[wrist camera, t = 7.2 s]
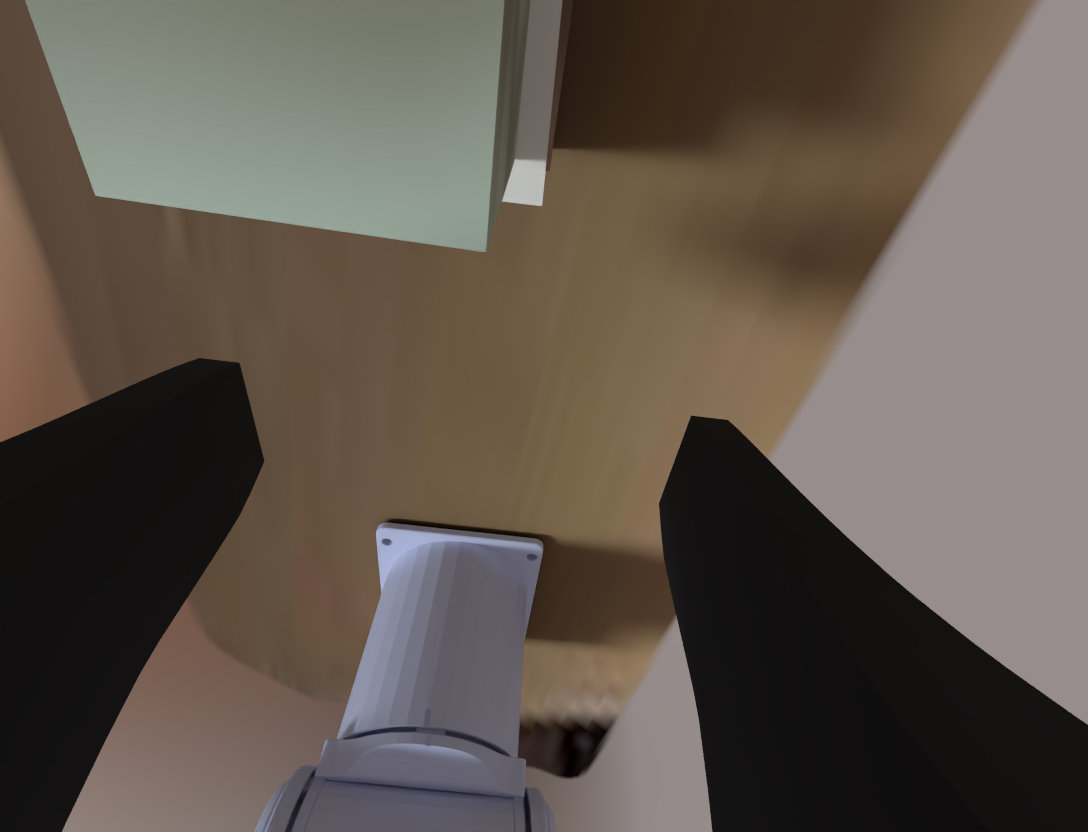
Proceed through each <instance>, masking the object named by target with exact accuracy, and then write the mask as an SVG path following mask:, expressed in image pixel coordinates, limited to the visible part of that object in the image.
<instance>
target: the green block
mask: <svg viewBox="0 0 1088 832" xmlns="http://www.w3.org/2000/svg"><path fill="white" fill-rule="evenodd" d="M25 1H26V4H27V7H28V10H29V12H30V15H31V18H32V21H33V23H34V26H35V29H36V32H37V35H38V37H39V40H40V43H41V46H42V48H43V51H44V54H45V57H46V60H47V62H48V65H49V68H50V71H51V73H52V76H53V79H54V82H55V85H56V87H57V90H58V93H59V96H60V98H61V101H62V104H63V107H64V110H65V112H66V115H67V118H68V121H69V123H70V126H71V129H72V132H73V135H74V137H75V140H76V143H77V146H78V148H79V151H80V154H81V157H82V160H83V162H84V165H85V168H86V171H87V173H88V176H89V179H90V182H91V185H92V187H93V190H94V193H95V196H101V197H108V198H115V199H122V200H129V201H136V202H143V203H150V204H156V205H163V206H170V207H177V208H184V209H191V210H198V211H205V212H212V213H218V214H225V215H232V216H239V217H246V218H253V219H260V220H267V221H273V222H280V223H287V224H294V225H301V226H308V227H315V228H322V229H328V230H335V231H342V232H349V233H356V234H363V235H370V236H377V237H384V238H390V239H397V240H404V241H411V242H418V243H425V244H432V245H439V246H445V247H452V248H459V249H466V250H473V251H480V252H486V250H487V247H488V244H489V241H490V238H491V234H492V231H493V228H494V225H495V222H496V218H497V215H498V212H499V209H500V206H501V203H502V199H503V196H504V193H505V190H506V187H507V183H508V180H509V177H510V174H511V171H512V167H513V164H514V161H515V155H516V144H517V134H518V124H519V114H520V103H521V93H522V83H523V72H524V62H525V52H526V42H527V31H528V21H529V11H530V1H531V0H25Z"/></svg>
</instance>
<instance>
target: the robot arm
mask: <svg viewBox="0 0 1088 832" xmlns="http://www.w3.org/2000/svg"><path fill="white" fill-rule="evenodd" d="M263 463H264V458H263V454H262V450H261V446H260V442H259V438H258V434H257V430H256V426H255V422H254V418H253V415H252V411H251V407H250V403H249V399H248V395H247V391H246V387H245V383H244V379H243V375H242V371H241V367H240V363H236V362H228V361H219V360H211V359H202V358H198V359H196V360H193V361H190V362H187V363H184V364H181V365H179V366H176V367H174V368H171V369H169V370H166V371H164V372H161V373H159V374H157V375H154V376H152V377H150V378H147V379H145V380H143V381H141V382H138V383H136V384H134V385H131V386H129V387H127V388H125V389H122V390H120V391H118V392H116V393H113V394H111V395H109V396H107V397H104V398H102V399H100V400H98V401H95V402H93V403H91V404H89V405H86V406H84V407H82V408H80V409H77V410H75V411H73V412H71V413H69V414H66V415H64V416H62V417H59V418H57V419H55V420H53V421H50V422H48V423H46V424H43V425H41V426H39V427H37V428H34V429H32V430H29V431H27V432H24V433H22V434H19V435H17V436H15V437H12V438H10V439H8V440H5V441H3V442H0V832H62V830H63V828H64V826H65V823H66V821H67V819H68V817H69V815H70V813H71V811H72V808H73V806H74V805H75V802H76V800H77V798H78V796H79V794H80V792H81V790H82V788H83V786H84V784H85V781H86V780H87V777H88V775H89V773H90V771H91V769H92V767H93V765H94V763H95V761H96V759H97V757H98V755H99V753H100V750H101V748H102V746H103V744H104V742H105V740H106V738H107V736H108V734H109V732H110V730H111V729H112V727H113V725H114V723H115V721H116V719H117V717H118V715H119V713H120V711H121V709H122V707H123V705H124V703H125V701H126V699H127V698H128V696H129V694H130V692H131V690H132V688H133V686H134V684H135V682H136V680H137V678H138V676H139V674H140V673H141V671H142V669H143V667H144V666H145V664H146V662H147V661H148V659H149V657H150V656H151V654H152V652H153V651H154V649H155V647H156V645H157V644H158V642H159V640H160V639H161V637H162V636H163V634H164V633H165V631H166V629H167V628H168V627H169V625H170V624H171V622H172V620H173V619H174V617H175V616H176V614H177V613H178V611H179V610H180V608H181V606H182V605H183V603H184V602H185V600H186V599H187V597H188V596H189V594H190V593H191V591H192V590H193V588H194V586H195V585H196V583H197V582H198V580H199V579H200V577H201V576H202V574H203V573H204V571H205V569H206V568H207V566H208V565H209V563H210V562H211V560H212V559H213V557H214V555H215V554H216V552H217V551H218V549H219V548H220V546H221V544H222V543H223V541H224V540H225V538H226V537H227V535H228V533H229V532H230V530H231V529H232V527H233V525H234V524H235V522H236V520H237V519H238V517H239V516H240V514H241V512H242V509H243V507H244V505H245V503H246V501H247V499H248V497H249V495H250V493H251V491H252V488H253V486H254V484H255V481H256V479H257V477H258V474H259V472H260V470H261V468H262V465H263ZM659 508H660V521H661V534H662V544H663V553H664V560H665V565H666V570H667V575H668V579H669V584H670V588H671V593H672V597H673V602H674V606H675V611H676V615H677V620H678V624H679V628H680V633H681V637H682V641H683V646H684V650H685V655H686V659H687V663H688V668H689V672H690V677H691V681H692V685H693V690H694V696H695V701H696V706H697V711H698V717H699V723H700V731H701V739H702V746H703V753H704V762H705V769H706V778H707V785H708V794H709V802H710V813H711V821H712V831H713V832H1088V725H1087V724H1086V723H1084V722H1083V721H1081V720H1080V719H1078V718H1077V717H1075V716H1074V715H1073V714H1071V713H1070V712H1068V711H1067V710H1066V709H1064V708H1063V707H1061V706H1060V705H1058V704H1057V703H1056V702H1054V701H1053V700H1051V699H1050V698H1049V697H1047V696H1046V695H1044V694H1043V693H1041V692H1040V691H1039V690H1037V689H1036V688H1035V687H1033V686H1031V685H1030V684H1029V683H1027V682H1026V681H1024V680H1023V679H1022V678H1020V677H1019V676H1018V675H1016V674H1015V673H1013V672H1012V671H1011V670H1009V669H1008V668H1006V667H1005V666H1004V665H1002V664H1001V663H1000V662H998V661H997V660H995V659H994V658H993V657H992V656H990V655H989V654H987V653H986V652H985V651H984V650H982V649H981V648H979V647H978V646H977V645H975V644H974V643H973V642H971V641H970V640H969V639H968V638H966V637H965V636H964V635H963V634H961V633H960V632H959V631H957V630H956V629H955V628H954V627H952V626H951V625H950V624H949V623H947V622H946V621H945V620H944V619H942V618H941V617H940V616H939V615H937V614H936V613H935V612H933V611H932V610H931V609H930V608H929V607H927V606H926V605H925V604H924V603H922V602H921V601H920V600H918V599H917V598H916V597H915V596H914V595H912V594H911V593H910V592H909V591H908V590H906V589H905V588H904V587H903V586H902V585H901V584H899V583H898V582H897V581H896V580H895V579H893V578H892V577H891V576H890V575H889V574H888V573H886V572H885V571H884V570H883V569H882V568H881V567H880V566H879V565H878V564H876V563H875V562H874V561H873V560H872V559H871V558H870V557H868V556H867V555H866V554H865V553H864V552H863V551H862V550H861V549H860V548H858V547H857V546H856V545H855V544H854V543H853V542H852V541H851V540H850V539H849V538H847V537H846V536H845V535H844V534H843V533H842V532H841V531H840V530H839V529H838V528H837V527H836V526H835V525H834V524H833V523H832V522H830V521H829V520H828V519H827V518H826V517H825V516H824V515H823V514H822V513H821V512H820V511H819V510H818V509H817V508H816V507H815V506H814V505H813V504H812V503H811V502H810V501H809V500H808V499H807V498H806V497H805V496H804V495H803V494H802V493H800V491H799V490H798V489H797V488H796V487H795V486H794V485H793V484H792V483H791V482H790V481H789V480H788V479H787V478H786V477H785V476H784V475H783V474H782V473H781V472H780V471H779V470H778V469H777V468H776V467H775V466H774V465H773V464H772V463H771V462H770V461H769V460H768V459H767V458H766V457H765V456H764V455H763V454H762V453H761V452H760V451H759V450H758V449H757V448H756V447H755V446H754V445H753V444H752V443H751V442H750V441H749V440H748V439H747V438H746V437H745V436H744V435H743V434H742V433H741V432H740V431H739V430H738V429H737V428H736V427H735V426H734V425H733V424H732V423H730V422H729V421H728V420H723V419H714V418H706V417H697V416H691V418H690V421H689V423H688V426H687V429H686V431H685V434H684V437H683V440H682V442H681V445H680V448H679V451H678V453H677V456H676V459H675V461H674V464H673V467H672V470H671V472H670V475H669V478H668V481H667V483H666V486H665V489H664V491H663V494H662V497H661V500H660V502H659ZM376 538H377V549H378V561H379V572H380V583H381V597H380V600H379V603H378V607H377V610H376V613H375V616H374V620H373V623H372V626H371V629H370V633H369V636H368V639H367V643H366V646H365V649H364V652H363V656H362V659H361V662H360V665H359V669H358V672H357V675H356V678H355V682H354V685H353V688H352V691H351V695H350V698H349V701H348V704H347V708H346V711H345V714H344V718H343V721H342V724H341V727H340V731H339V734H338V737H337V739H327V740H326V741H325V744H324V748H323V751H322V754H321V757H320V760H319V763H318V766H317V767H316V766H308V765H305V766H302V767H300V768H299V769H297V770H296V771H295V773H294V774H293V775H292V776H291V777H290V778H289V779H288V780H286V781H285V782H284V783H283V784H281V785H280V786H279V788H278V789H277V790H276V791H275V793H274V794H273V796H272V797H271V799H270V801H269V802H268V804H267V806H266V808H265V810H264V812H263V814H262V816H261V818H260V820H259V823H258V825H257V827H256V829H255V832H557V831H556V824H555V820H554V816H553V813H552V811H551V809H550V807H549V806H548V804H547V803H546V801H545V800H544V798H543V795H542V793H541V792H540V790H539V789H537V788H528V787H525V771H526V760H525V759H521V758H517V757H518V739H519V722H520V705H521V687H522V670H523V652H524V641H525V636H526V631H527V627H528V622H529V617H530V612H531V607H532V603H533V598H534V593H535V588H536V584H537V579H538V574H539V569H540V564H541V560H542V555H543V543H542V541H540V540H539V539H535V538H527V537H517V536H508V535H499V534H490V533H480V532H471V531H462V530H452V529H443V528H434V527H424V526H415V525H406V524H396V523H382V524H380V525H379V526H378V529H377V532H376Z"/></svg>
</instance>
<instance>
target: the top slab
mask: <svg viewBox="0 0 1088 832" xmlns="http://www.w3.org/2000/svg"><path fill="white" fill-rule="evenodd" d="M561 10H562V0H531V1H530V11H529V21H528V31H527V42H526V52H525V62H524V72H523V83H522V93H521V103H520V114H519V124H518V134H517V144H516V155H515V161H514V164H513V167H512V171H511V174H510V177H509V180H508V183H507V187H506V190H505V193H504V196H503V199H502V201H503V202H512V203H520V204H529V205H537V206H542V201H543V191H544V181H545V171H546V161H547V151H548V141H549V131H550V121H551V111H552V101H553V91H554V80H555V71H556V61H557V51H558V41H559V30H560V20H561Z"/></svg>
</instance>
